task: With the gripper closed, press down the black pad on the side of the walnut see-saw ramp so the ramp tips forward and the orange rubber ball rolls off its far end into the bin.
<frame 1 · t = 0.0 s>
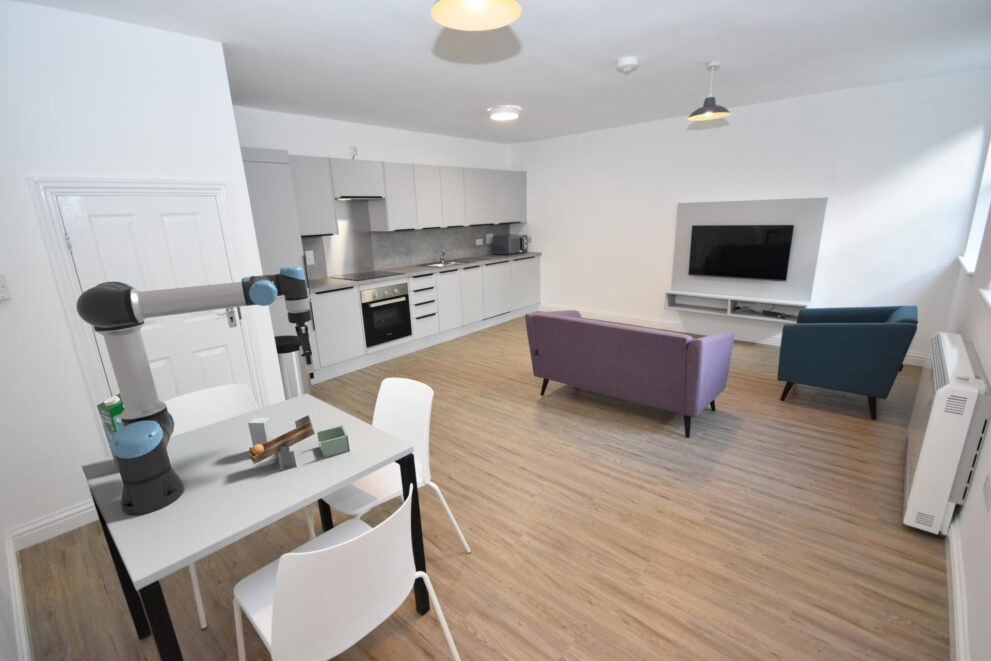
hand: (308, 367, 158), 28 cm above the table, fingers open, 13 cm apart
lever: (281, 435, 150), point 8 cm above the table, hinge at -15.0°, touching ball
bin: (334, 448, 156), on the table
skincare box: (265, 450, 157), on the table
ball: (257, 449, 143), point 7 cm above the table, tilted 15°, touching lever
milk carton: (136, 461, 154), on the table
fulcrum: (287, 461, 149), on the table
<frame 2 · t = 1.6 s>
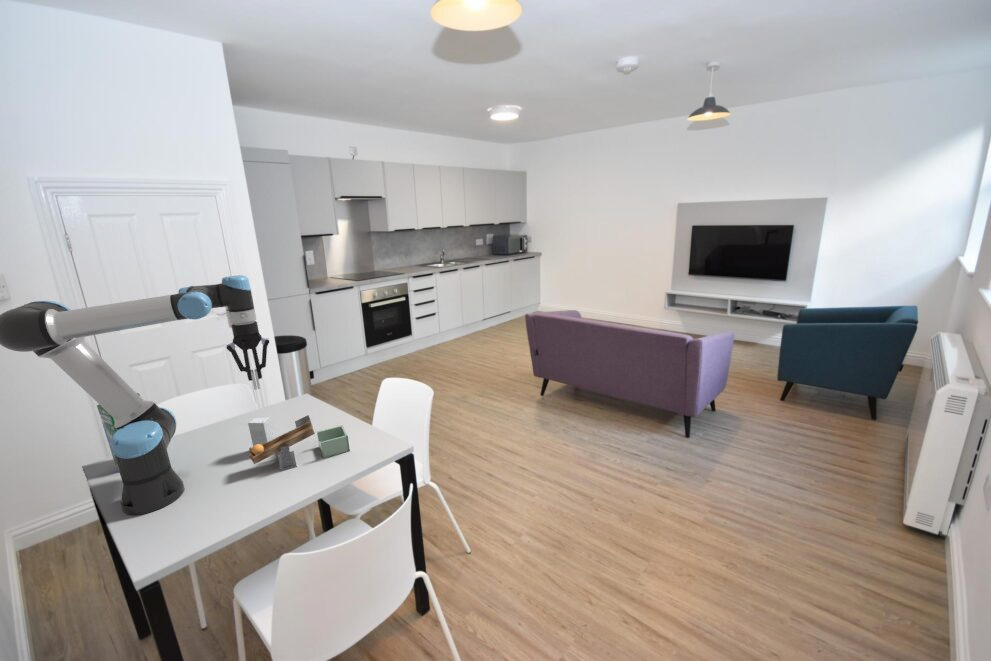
hand: (257, 387, 150), 24 cm above the table, fingers closed
nothing on the table moved.
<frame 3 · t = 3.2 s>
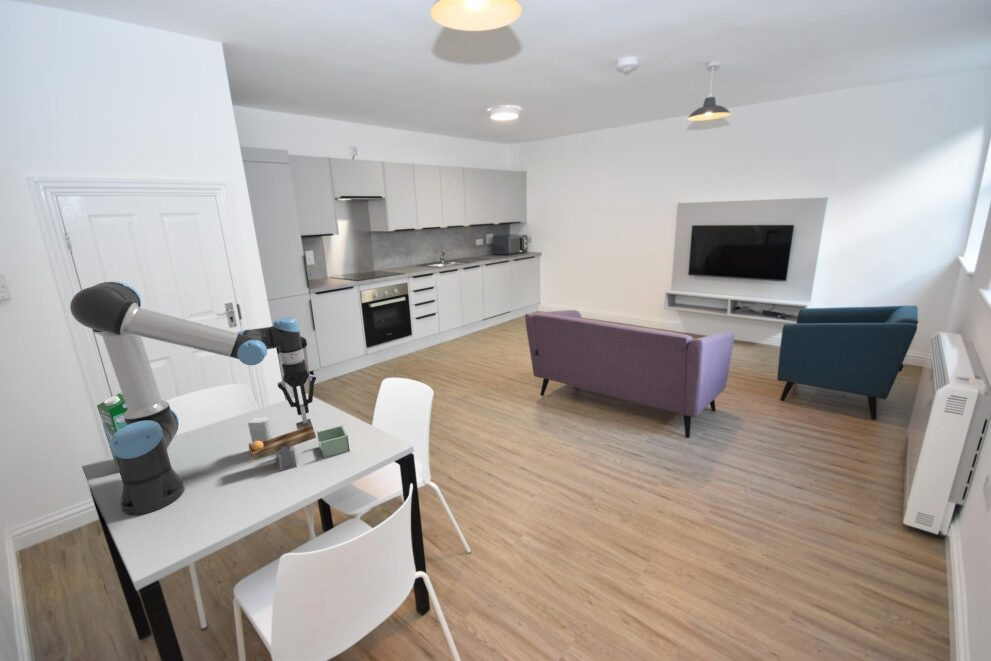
hand: (305, 421, 159), 9 cm above the table, fingers closed
lever: (282, 435, 151), point 8 cm above the table, hinge at -5.8°, touching ball, gripper
ball: (257, 446, 143), point 9 cm above the table, touching lever
everything else where it was.
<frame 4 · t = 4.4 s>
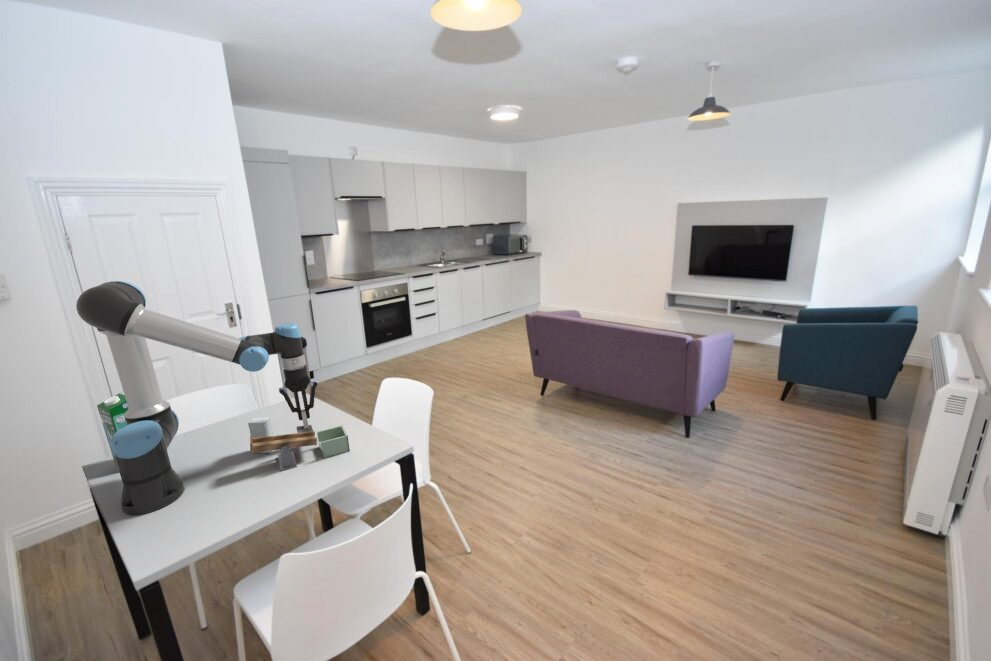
hand: (306, 426, 159), 7 cm above the table, fingers closed
lever: (283, 434, 151), point 8 cm above the table, hinge at 9.3°, touching gripper
ball: (339, 441, 156), point 2 cm above the table, tilted 105°, touching bin
everything else where it was.
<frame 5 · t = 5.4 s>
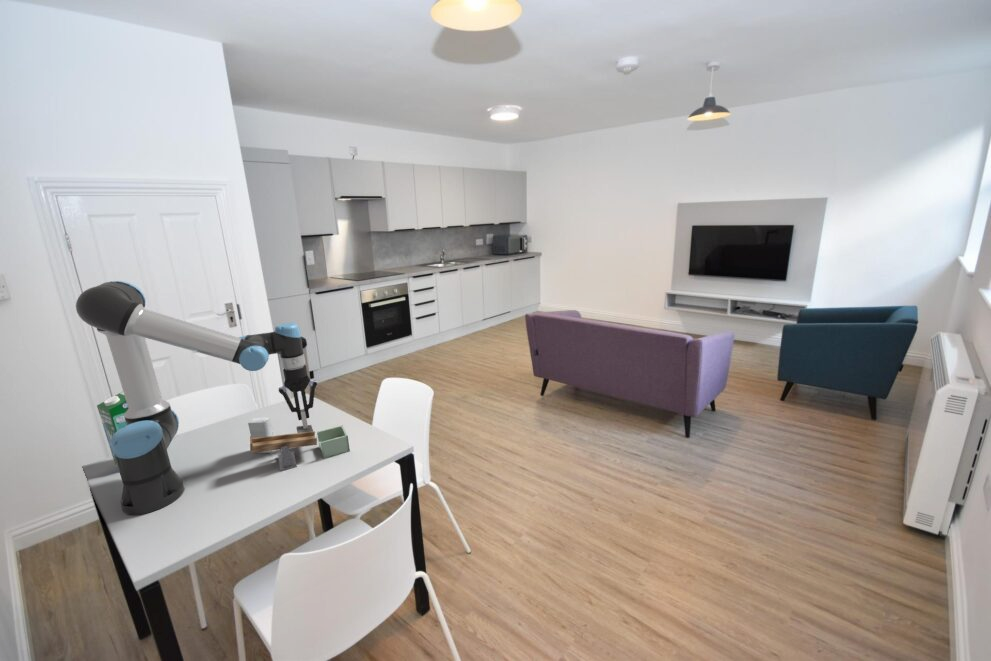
hand: (305, 426, 159), 7 cm above the table, fingers closed
lever: (283, 434, 151), point 8 cm above the table, hinge at 9.3°
ball: (337, 442, 156), point 2 cm above the table, tilted 86°, touching bin
everything else where it was.
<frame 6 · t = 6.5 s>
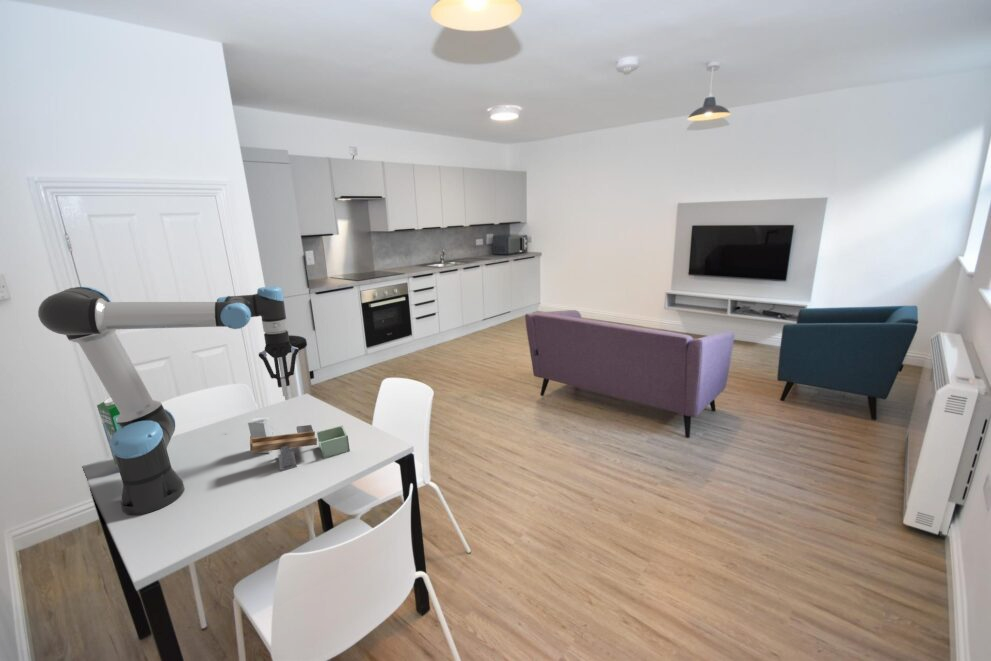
hand: (285, 394, 156), 20 cm above the table, fingers closed
ball: (335, 442, 156), point 2 cm above the table, tilted 66°, touching bin
everything else where it was.
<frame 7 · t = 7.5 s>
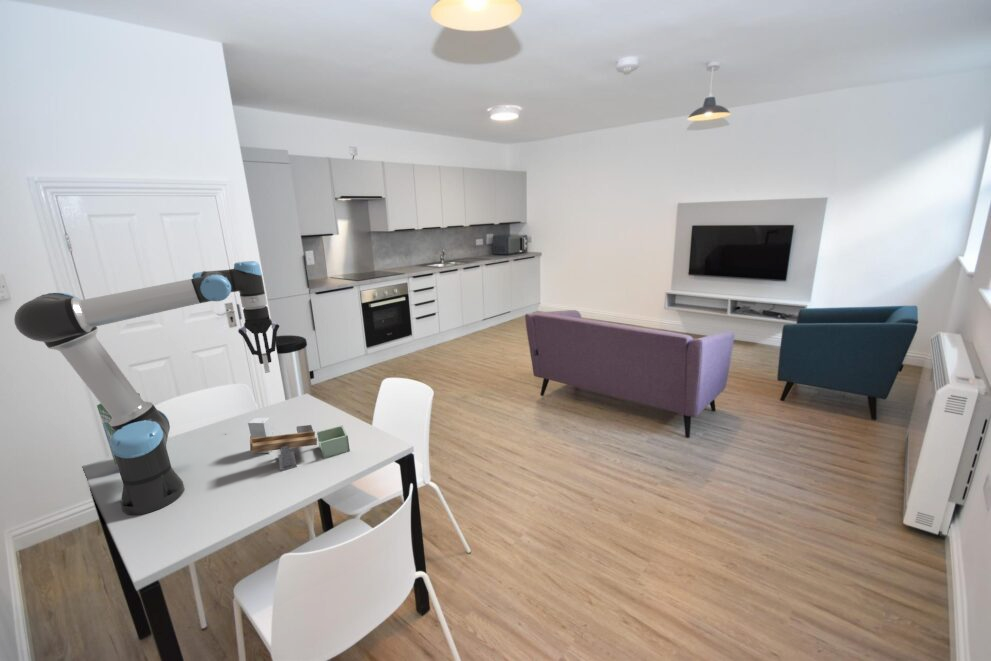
hand: (267, 371, 155), 28 cm above the table, fingers closed
ball: (334, 443, 156), point 2 cm above the table, tilted 48°, touching bin
everything else where it was.
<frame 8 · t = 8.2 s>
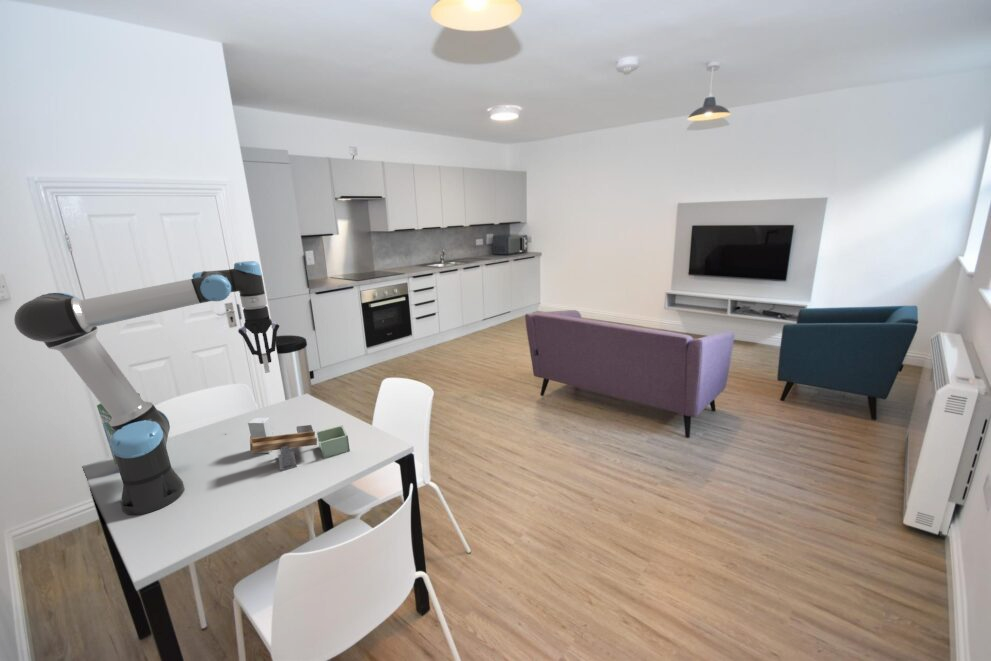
hand: (267, 371, 155), 28 cm above the table, fingers closed
ball: (333, 443, 155), point 2 cm above the table, tilted 35°, touching bin
everything else where it was.
at the end: ball inside the target area on the bin (0.3 cm from its centre), point 2.1 cm above the bin's base; ball point 2.1 cm above the table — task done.
